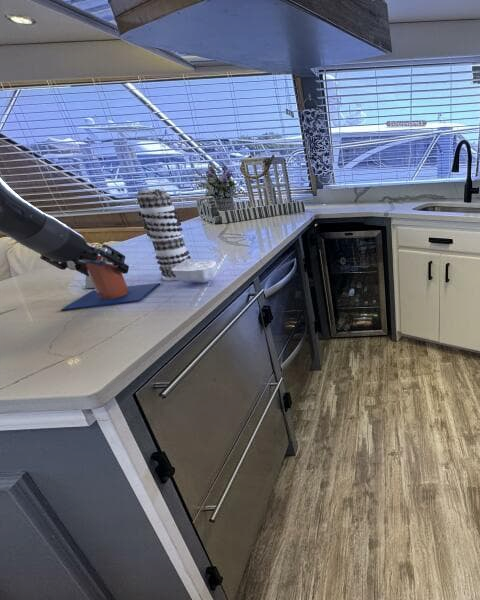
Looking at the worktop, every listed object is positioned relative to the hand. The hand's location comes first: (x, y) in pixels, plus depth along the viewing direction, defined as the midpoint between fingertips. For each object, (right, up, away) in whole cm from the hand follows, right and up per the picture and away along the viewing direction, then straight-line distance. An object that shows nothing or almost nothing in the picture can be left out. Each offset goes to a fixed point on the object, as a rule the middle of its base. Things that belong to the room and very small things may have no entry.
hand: (108, 271), depth 82 cm
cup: (+1, -6, +1) cm, 6 cm away
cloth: (0, -6, +1) cm, 6 cm away
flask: (-12, -3, +11) cm, 16 cm away
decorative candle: (+8, 0, +16) cm, 17 cm away
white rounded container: (+18, -2, +9) cm, 20 cm away
